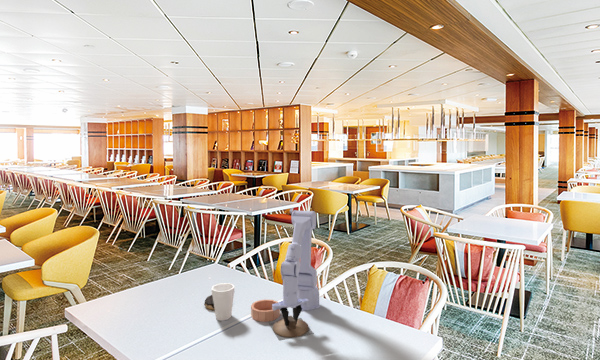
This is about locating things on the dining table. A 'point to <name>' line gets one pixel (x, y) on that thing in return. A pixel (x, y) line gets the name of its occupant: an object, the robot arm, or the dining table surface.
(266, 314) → the bowl
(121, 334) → the dining table surface
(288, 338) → the mat
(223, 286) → the foam cup
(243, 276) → the dining table surface
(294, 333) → the lid
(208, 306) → the donut
